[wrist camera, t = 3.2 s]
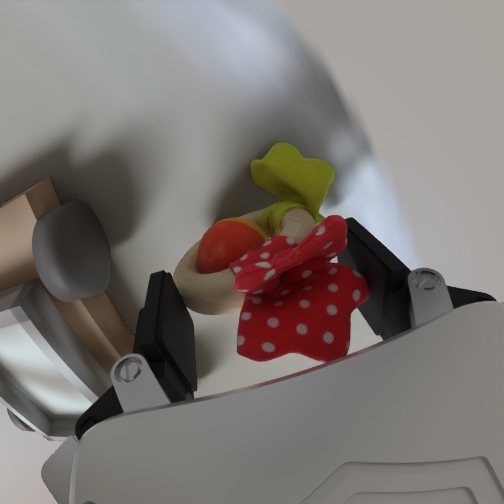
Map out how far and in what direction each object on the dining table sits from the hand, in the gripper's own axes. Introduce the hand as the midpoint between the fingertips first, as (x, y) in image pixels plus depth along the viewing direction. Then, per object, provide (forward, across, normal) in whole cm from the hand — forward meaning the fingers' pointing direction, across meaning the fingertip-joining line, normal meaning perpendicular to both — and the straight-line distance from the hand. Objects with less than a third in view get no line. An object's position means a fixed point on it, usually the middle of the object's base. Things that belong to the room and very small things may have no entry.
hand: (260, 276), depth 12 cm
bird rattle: (+6, -1, 0) cm, 6 cm away
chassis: (+6, +18, +5) cm, 19 cm away
